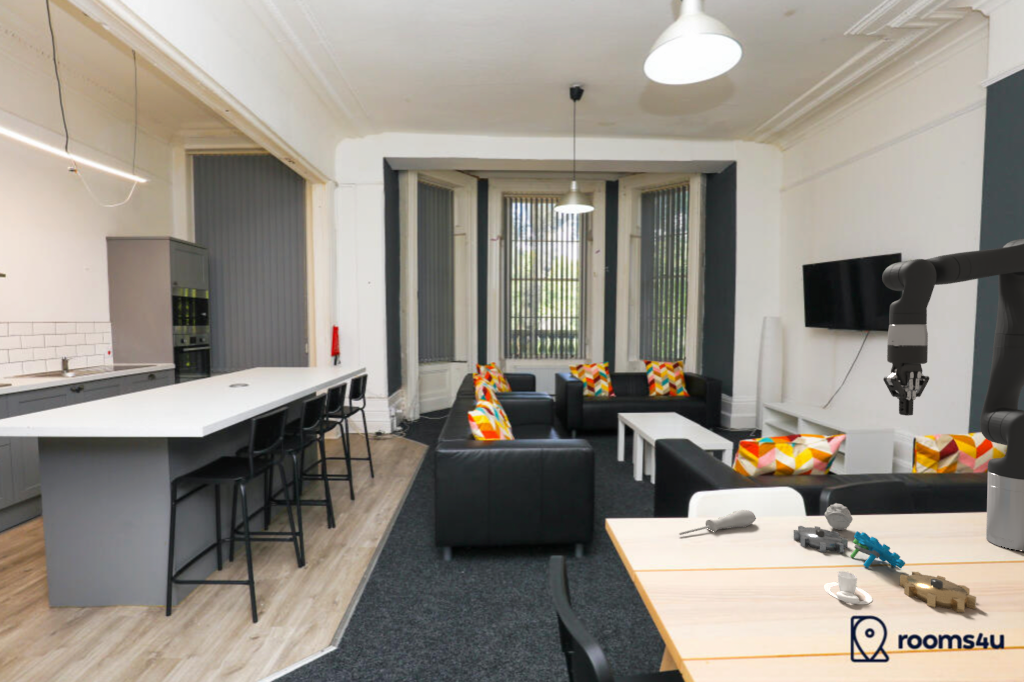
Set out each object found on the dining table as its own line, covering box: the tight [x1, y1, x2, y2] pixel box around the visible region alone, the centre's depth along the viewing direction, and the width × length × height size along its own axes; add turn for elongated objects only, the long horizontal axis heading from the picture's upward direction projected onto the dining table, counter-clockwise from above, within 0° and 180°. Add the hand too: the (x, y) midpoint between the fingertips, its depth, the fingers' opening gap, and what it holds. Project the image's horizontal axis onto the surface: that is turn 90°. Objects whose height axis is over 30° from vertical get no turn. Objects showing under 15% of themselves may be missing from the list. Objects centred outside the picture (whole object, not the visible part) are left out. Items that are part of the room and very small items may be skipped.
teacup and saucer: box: [823, 570, 873, 605], centre depth 96 cm, size 9×8×4 cm
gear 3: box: [899, 571, 977, 614], centre depth 95 cm, size 11×11×3 cm
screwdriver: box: [678, 509, 757, 536], centre depth 126 cm, size 5×25×4 cm, turn 110°
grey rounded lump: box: [824, 502, 854, 531], centre depth 127 cm, size 6×7×7 cm
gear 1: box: [792, 525, 849, 554], centre depth 119 cm, size 11×11×3 cm
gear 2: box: [849, 530, 906, 569], centre depth 107 cm, size 11×6×10 cm
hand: (905, 414), depth 116 cm, fingers closed
